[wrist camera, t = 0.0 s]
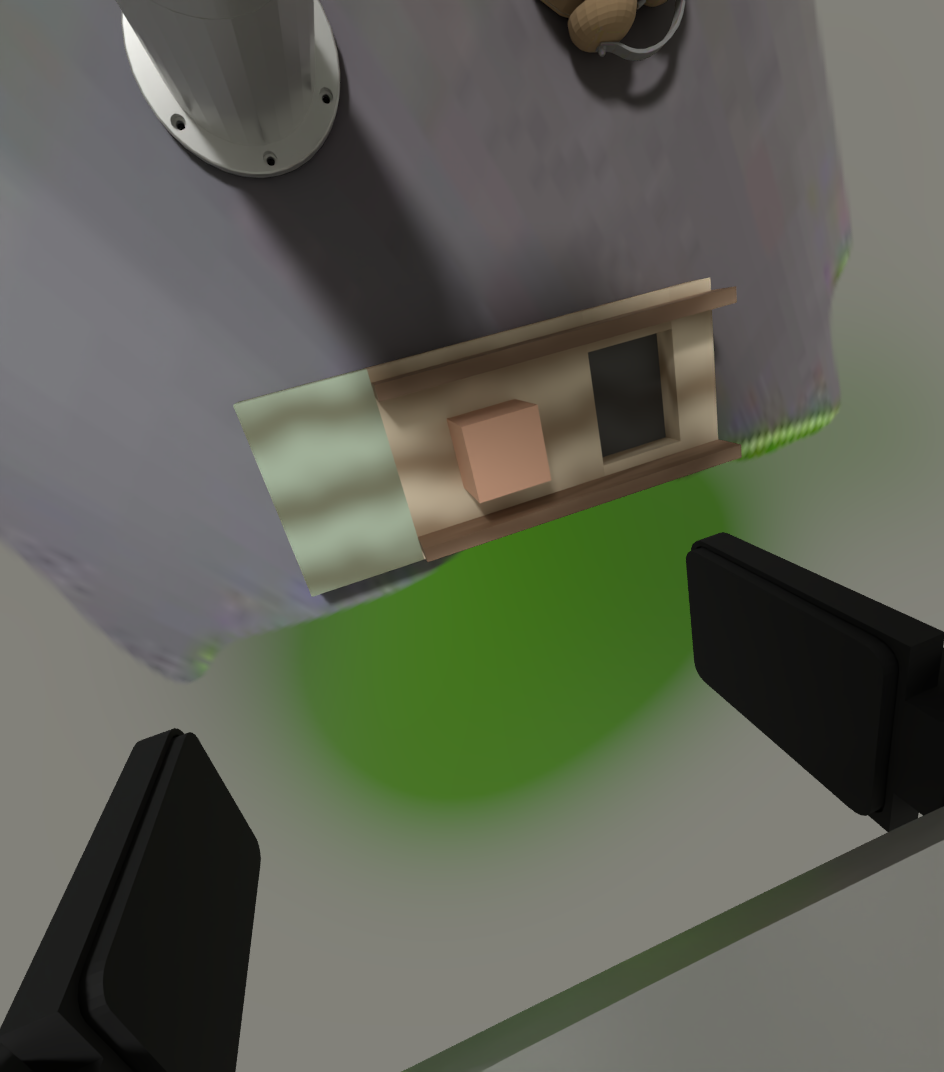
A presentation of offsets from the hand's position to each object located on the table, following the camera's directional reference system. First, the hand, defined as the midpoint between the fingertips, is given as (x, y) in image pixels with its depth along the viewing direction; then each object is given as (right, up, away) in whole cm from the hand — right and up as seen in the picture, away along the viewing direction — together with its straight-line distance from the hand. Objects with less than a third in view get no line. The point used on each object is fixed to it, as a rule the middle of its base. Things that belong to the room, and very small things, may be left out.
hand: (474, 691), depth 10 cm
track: (+3, +12, +37) cm, 39 cm away
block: (+1, +11, +34) cm, 36 cm away
